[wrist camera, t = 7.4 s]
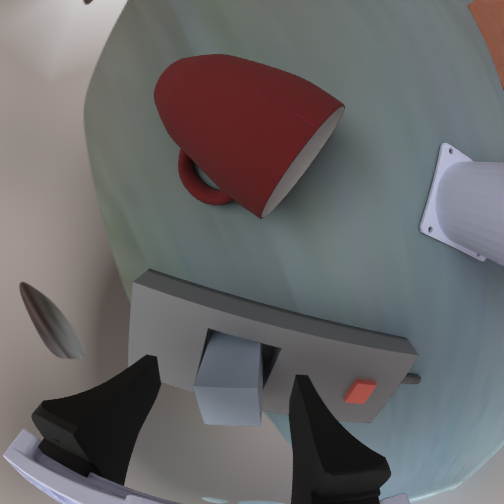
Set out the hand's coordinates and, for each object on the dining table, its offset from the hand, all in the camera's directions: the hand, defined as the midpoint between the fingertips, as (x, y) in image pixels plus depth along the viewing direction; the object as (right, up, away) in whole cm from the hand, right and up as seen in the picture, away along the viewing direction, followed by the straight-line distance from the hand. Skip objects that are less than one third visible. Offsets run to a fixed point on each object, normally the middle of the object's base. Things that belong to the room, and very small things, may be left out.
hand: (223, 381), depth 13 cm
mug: (-4, +17, +3) cm, 18 cm away
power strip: (+6, -3, +10) cm, 12 cm away
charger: (0, -2, +10) cm, 10 cm away
